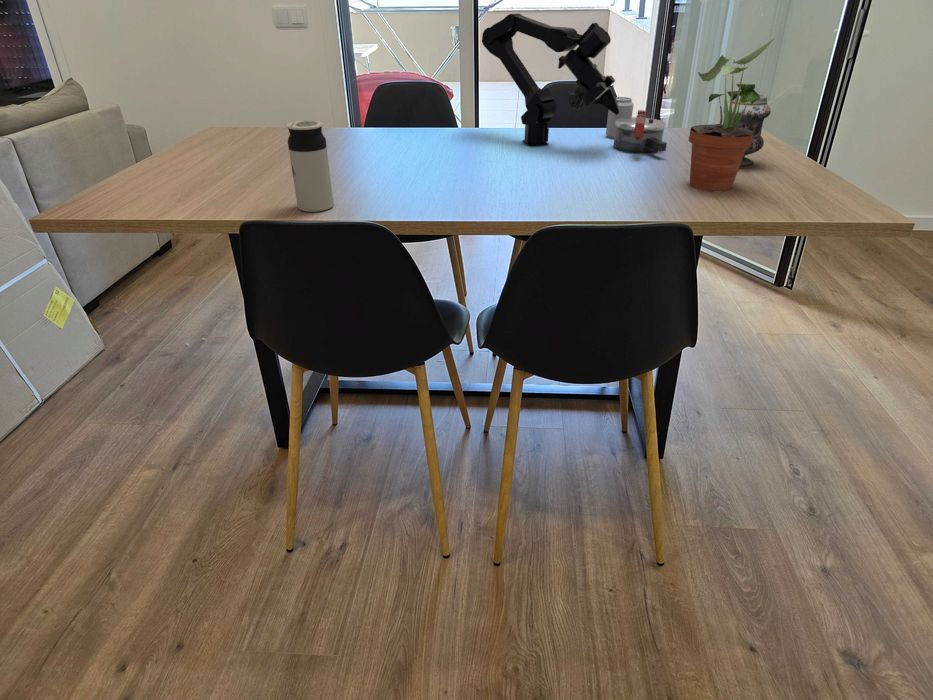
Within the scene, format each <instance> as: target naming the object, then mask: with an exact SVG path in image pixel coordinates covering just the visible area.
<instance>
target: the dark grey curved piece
mask: <svg viewBox="0 0 933 700" xmlns="http://www.w3.org/2000/svg"><path fill="white" fill-rule="evenodd" d="M664 130H665V129H663V130H660V131H652V132H644V134H643V138H641V137H633V136H634V131H629V130H623V129H620V128H617V127H616V129H615V137H614V139H613V149H614V150H616V151H619V152H621V151H622V152H621V153H628V154H635V153H637V154H638V155H639V154H641V155H645V154H647V155H648V154H656V153H658V151H659V152H665V151H666V149H667V144H668V143H667V142H665V141H663V136H664ZM637 154H636V155H637Z"/></svg>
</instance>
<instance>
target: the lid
mask: <svg viewBox="0 0 933 700" xmlns="http://www.w3.org/2000/svg"><path fill="white" fill-rule="evenodd" d="M646 115H647V110H645V109H643V110H642V109H641V110H639V109H638V110H637V115H636V117H632V118H621V119H618V120H616V123H615V126H616V127H617V128H620V129H623V130H629V131H634V136H633V137H641V138H643V134H644V132H652V131H660V130H663V129H664V130H665V128H666V122H665V121H663V120H660V119H656V118H649V117H647V116H646Z"/></svg>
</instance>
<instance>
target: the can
mask: <svg viewBox="0 0 933 700" xmlns="http://www.w3.org/2000/svg"><path fill="white" fill-rule="evenodd" d="M616 99H617V103H618V107H619V111H620V112H619V113H618V114H617V115H616V114H614V113H613V112H612V111H610V110H609V109H608V111H607V112H608V113H607V120H606V121H607V122H606V129H605V135H606V137H609V138H608V139H611V140H612V139H613V140H614V137H615V129H616V126H615V123H616V120H618V119H621V118H633V113H634V102H633V101H632V100H633V98H632V97H627V96H616Z"/></svg>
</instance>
